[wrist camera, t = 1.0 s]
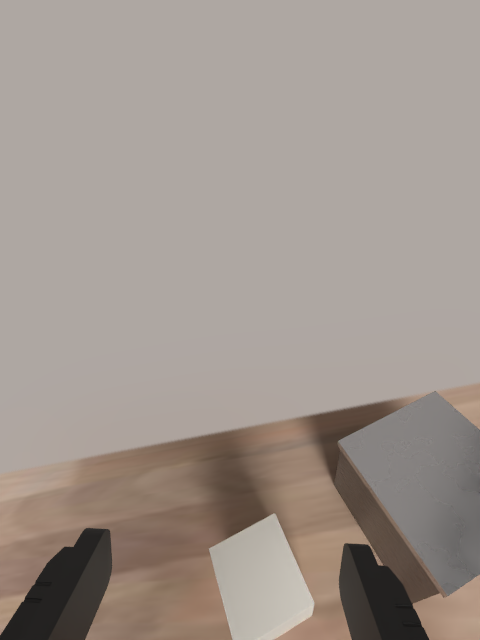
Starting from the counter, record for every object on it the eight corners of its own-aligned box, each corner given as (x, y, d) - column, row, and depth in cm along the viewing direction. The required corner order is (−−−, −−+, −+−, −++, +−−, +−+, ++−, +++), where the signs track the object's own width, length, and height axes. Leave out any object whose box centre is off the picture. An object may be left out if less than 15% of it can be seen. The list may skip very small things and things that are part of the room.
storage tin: (409, 441, 33) (435, 391, 27) (503, 544, 26) (571, 510, 19) (331, 483, 31) (338, 440, 25) (408, 609, 24) (447, 596, 17)
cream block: (283, 547, 28) (274, 513, 21) (312, 615, 24) (314, 603, 17) (235, 574, 27) (208, 548, 20) (257, 649, 23) (236, 652, 16)
